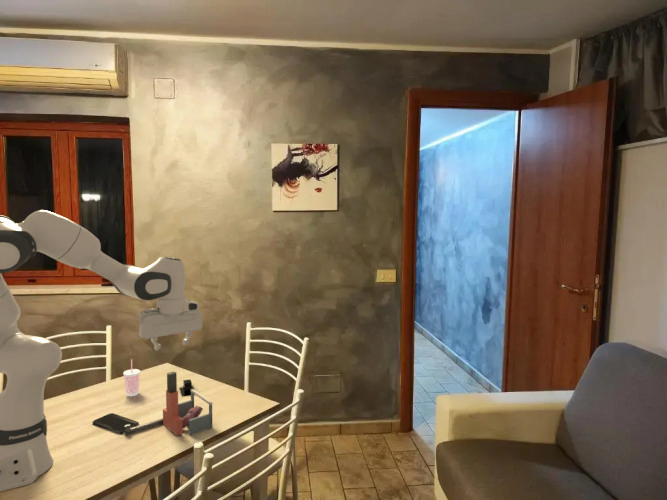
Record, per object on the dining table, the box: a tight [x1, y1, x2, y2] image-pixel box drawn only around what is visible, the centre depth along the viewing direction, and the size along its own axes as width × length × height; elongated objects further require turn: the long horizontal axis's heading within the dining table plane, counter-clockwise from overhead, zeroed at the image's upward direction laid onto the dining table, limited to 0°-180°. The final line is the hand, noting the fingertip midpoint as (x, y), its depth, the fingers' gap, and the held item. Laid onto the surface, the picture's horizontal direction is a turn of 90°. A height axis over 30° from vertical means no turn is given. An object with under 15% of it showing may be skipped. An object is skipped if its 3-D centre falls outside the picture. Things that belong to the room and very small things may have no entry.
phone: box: [92, 412, 140, 435], centre depth 157 cm, size 8×1×15 cm
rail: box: [123, 418, 165, 436], centre depth 154 cm, size 14×1×3 cm, turn 132°
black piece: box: [179, 379, 196, 398], centre depth 185 cm, size 12×7×5 cm, turn 25°
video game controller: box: [182, 405, 204, 429], centre depth 158 cm, size 10×5×7 cm, turn 170°
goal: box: [178, 388, 213, 436], centre depth 158 cm, size 8×15×9 cm, turn 42°
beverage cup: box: [122, 358, 141, 397], centre depth 181 cm, size 6×6×14 cm
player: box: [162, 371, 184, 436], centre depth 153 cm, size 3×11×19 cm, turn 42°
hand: (171, 347), depth 151 cm, fingers open, 8 cm apart
